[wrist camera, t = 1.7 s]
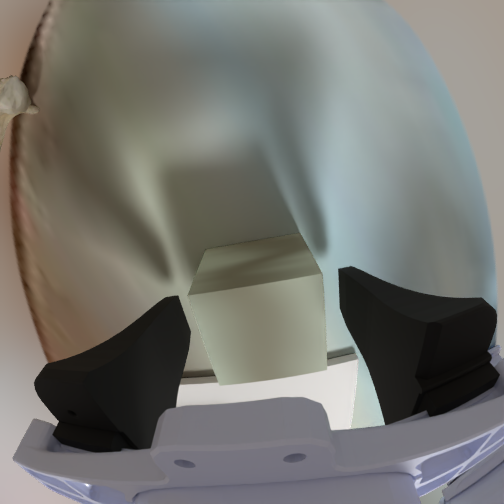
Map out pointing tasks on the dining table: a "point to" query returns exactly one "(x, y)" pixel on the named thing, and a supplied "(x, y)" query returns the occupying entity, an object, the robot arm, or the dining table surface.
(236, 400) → the board
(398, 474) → the robot arm
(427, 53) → the dining table surface
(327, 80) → the dining table surface
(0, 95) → the beige lumpy piece
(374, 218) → the dining table surface
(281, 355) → the sage block
